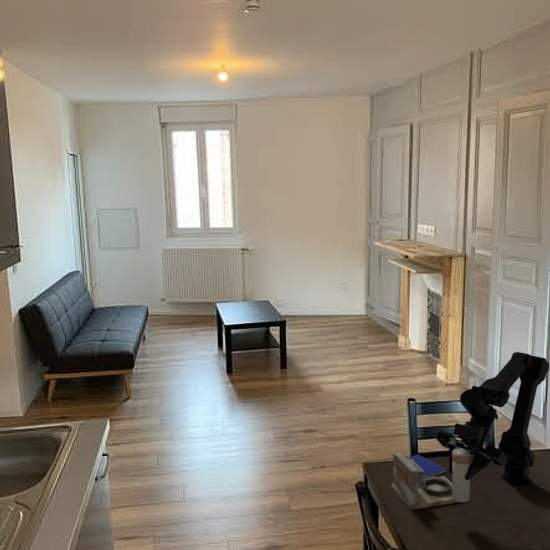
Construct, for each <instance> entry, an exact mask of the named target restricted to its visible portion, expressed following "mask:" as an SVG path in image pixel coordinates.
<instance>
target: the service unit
mask: <svg viewBox="0 0 550 550" xmlns="http://www.w3.org/2000/svg"><path fill="white" fill-rule="evenodd" d="M392 455H393V456H392V457H393V462H392V463H393V483H391V487H392V488H393V489H392V488H391V489H392V490H393V491H394V492H395V493H396V495H397V496H398V497H399V499H401V501H402V502H403V503H404V504H405V506H407V507H408V509H409V510H411V511H412V510H419V509H425V508H431V507H435V506H436V507H437V506H445V505H449V504H456V503H459V502H458V501H455V500H454V499H453V498H452V481H450V480H449V479H448V478H447V477H446V476H445V475H440V476H434V477H432V478H427V477H425V476H424V471H423V470H422V469H421V468H420V467H419V466H418V465H417V464H416V463H415V462H414V461H413V460H412V459H410V460H407V458H406V457H405V456H404V455H403V454H402V453H401V452H393V454H392Z"/></svg>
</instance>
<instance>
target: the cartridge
mask: <svg viewBox="0 0 550 550" xmlns="http://www.w3.org/2000/svg"><path fill="white" fill-rule="evenodd" d="M452 460H453V465H452V474H451V475H452V476H451V478H452V481H451V483H452V498H453V499H454V500H455V501H458V502H457V503H467V502H469V501H470V492H471V490H470V489H471V488H470V485H471V484H470V481H471V478H470V479H469V480H468V481H467V480H466V479H465V477H466V474H467V472H468V469H469V467H470V465H471V451H468V450H465V449H462V448H460V449H454V450H453V451H452Z"/></svg>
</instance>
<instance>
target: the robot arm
mask: <svg viewBox="0 0 550 550" xmlns="http://www.w3.org/2000/svg"><path fill="white" fill-rule="evenodd" d="M549 371H550V363H549V362H548V361H547V359H546V358H545V357H543V356H542V357H541V356H536V355H531V354H529V353H525V352H521V351H516V352H515V351H514V352H513V353H512V355H511V357H510V359H509V360H508V361H507V363H506V364H505V365H504V366H503V367H502V369H500V371H499V372H498V373H497V374H496V375H495V377H491V378H488V379H486V380H485V381H484V382H483V383H482V382H481V384H480V385H479V386H477V385H472V387H471V388H469V389H466V390H465V391H463V392H462V393H461V394H460V396H459V403H460V404H461V405H462V406H463V408H464V409H465V410H466V412H467V413H468V414H469V416H470V420H469V421H468V420H466V422H465V423H464V424H461V423H457V422H455V424H454V426H453V427H454V428H453V432H452V433H450V432H448V431H445V430H442V429H440V430H439V431H437V432H436V434H435V436H434V439H436V441H437V442H438V443H439V444H440V445H441V447H444V448H446V449H448V452H449V465H448V473H449V474H450V475H452V465H453V460H452V451H453V450H454V449H465V450H468V451H469V452H470V453H473V457H472V461H471V462H470V467H469V469H468V472H467V474H466V477H465V479H466V480H467V481H468V480H469V479H470V480H471V479H472V478H473V477H474V476H475V475H476V474H478V472H480V471H482V470H483V469H484V468H486V467H488V466H489V467H491V466H492V463H491V462H493V464H494V465H495V466H498V467H501V468H504V471H503V472H504V474H502V475H501V476H500V477H501V478H502V479H504V480H505V481H507V482H509V483H510V484H511V485H513V486H515V487H519V486H523V485H526V484H531V483H533V479H531V478H529V470H530V467H534V463H535V461H536V455H535V454H534V452H533V451H532V449H531V446H532V445H531V444H532V442H531V440H530V437H529V434H528V430H529V424H530V422H531V417H532V413H533V408H534V403H535V398H536V395H537V389H538V387H539V386H540V385H541V383H543V382H544V381H545V380H546V376H547V374H548V372H549ZM518 380H520V384H519V388H518V393H517V397H516V401H515V406H514V410H513V414H512V418H511V419H512V420H511V424H510V427H509V428H508V429H507V430H506V431H502V433H501V438H500V441H499V444H498V448H497V447H495V446H491V445H487V446H486V447H484V445H486V444H485V443H486V441H487V439H490V438H491V434H490V431H491V429H492V426H493V424H494V422H495V420H499V415H498V413H497V409H496V408H493V407H498V408H503V407H504V406H506V404H507V403H508V401H509V399H510V390H511V388H512V387H513V386H514V384H515V383H516V382H517V381H518ZM455 436H457V438H458V439H457V438H456V437H455Z"/></svg>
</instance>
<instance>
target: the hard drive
mask: <svg viewBox="0 0 550 550" xmlns="http://www.w3.org/2000/svg"><path fill="white" fill-rule="evenodd" d="M406 459H407V460H410V459H412V460H413V461H414V462H415V463H416V464H417V465H418V466H419V467H420V468H421V469H422V470H423V471H424V478H431V477H432V478H433V477H438V475H441V474H444V473H446V472H448V469H447V468H446V467H444V466H441V465H440V464H437V463H435V462H433V461H431V460H430V459H428V458H426V457H424V456H422V455H420V454H415V455H413V456H410V457H407V458H406Z"/></svg>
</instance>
